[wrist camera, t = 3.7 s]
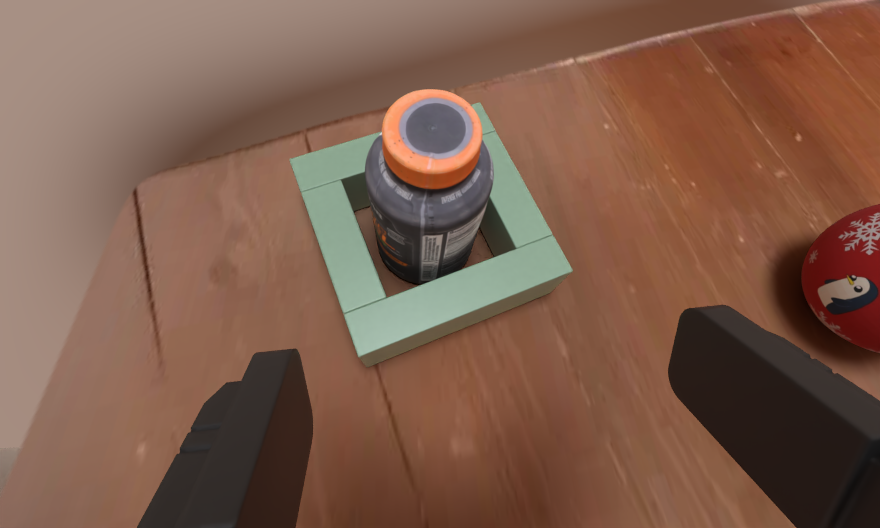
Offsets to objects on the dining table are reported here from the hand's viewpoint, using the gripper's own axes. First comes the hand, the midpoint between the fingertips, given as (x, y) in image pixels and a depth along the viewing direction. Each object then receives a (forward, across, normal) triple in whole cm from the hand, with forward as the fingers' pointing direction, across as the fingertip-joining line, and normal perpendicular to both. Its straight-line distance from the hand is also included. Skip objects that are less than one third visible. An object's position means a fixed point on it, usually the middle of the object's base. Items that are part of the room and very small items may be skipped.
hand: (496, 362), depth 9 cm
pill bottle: (+18, 0, +4) cm, 19 cm away
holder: (+18, 0, +4) cm, 18 cm away
